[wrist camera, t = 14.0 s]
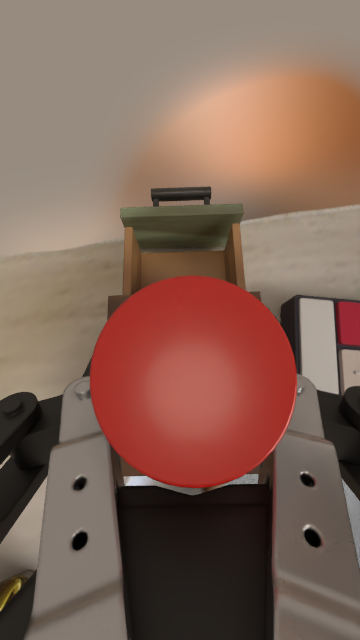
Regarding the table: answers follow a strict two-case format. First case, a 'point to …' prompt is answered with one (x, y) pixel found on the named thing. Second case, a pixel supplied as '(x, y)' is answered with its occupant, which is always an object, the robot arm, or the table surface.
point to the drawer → (181, 239)
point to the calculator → (324, 340)
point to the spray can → (193, 381)
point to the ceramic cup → (12, 587)
